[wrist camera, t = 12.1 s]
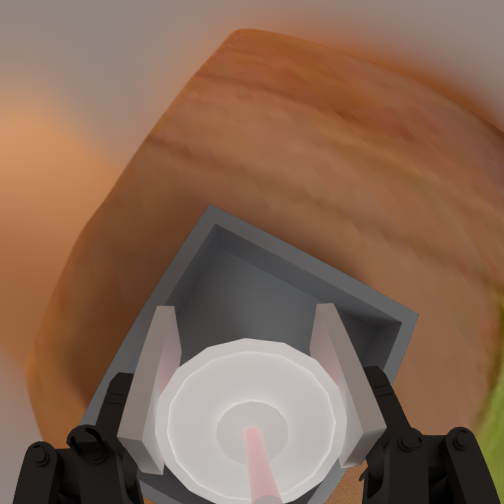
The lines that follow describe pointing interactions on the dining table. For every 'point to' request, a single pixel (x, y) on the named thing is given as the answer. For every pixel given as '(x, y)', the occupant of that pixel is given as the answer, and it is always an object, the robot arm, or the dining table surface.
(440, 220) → the dining table surface
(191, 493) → the tote
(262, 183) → the dining table surface
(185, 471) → the beverage cup
